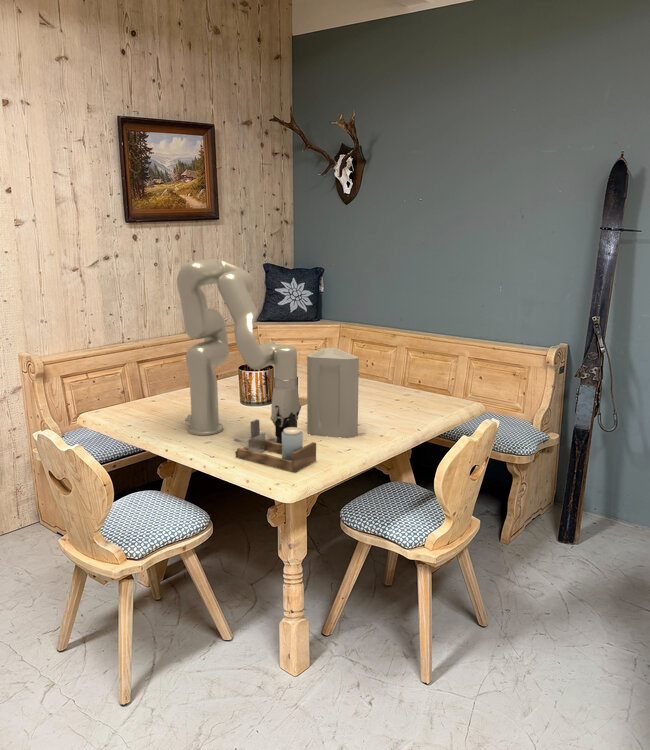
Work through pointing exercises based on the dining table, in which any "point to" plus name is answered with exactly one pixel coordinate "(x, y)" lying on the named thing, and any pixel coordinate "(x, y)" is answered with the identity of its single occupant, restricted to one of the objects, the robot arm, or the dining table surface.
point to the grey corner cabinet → (332, 393)
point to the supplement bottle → (287, 424)
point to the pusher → (254, 438)
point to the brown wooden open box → (298, 462)
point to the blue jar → (291, 442)
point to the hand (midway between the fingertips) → (286, 433)
